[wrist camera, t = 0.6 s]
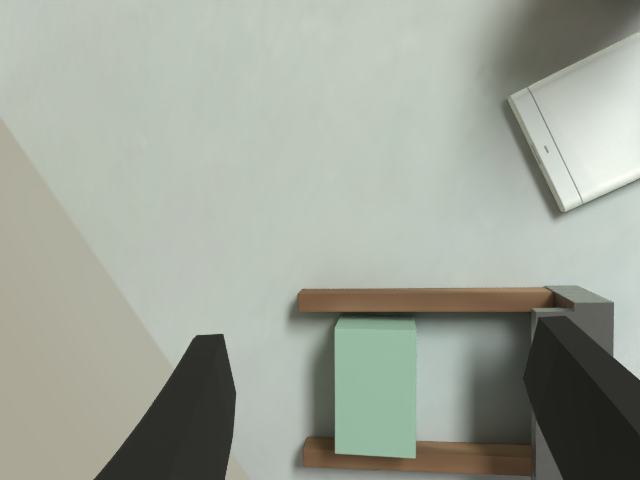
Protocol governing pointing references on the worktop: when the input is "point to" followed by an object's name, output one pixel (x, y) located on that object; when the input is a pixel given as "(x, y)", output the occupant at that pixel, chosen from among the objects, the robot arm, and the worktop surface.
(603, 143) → the hard drive
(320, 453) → the guide bay
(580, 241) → the worktop surface
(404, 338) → the sage block
